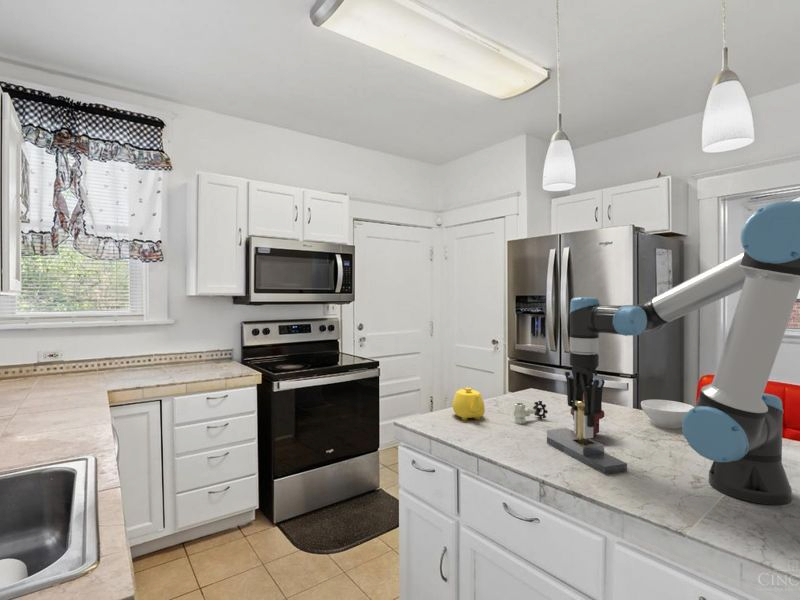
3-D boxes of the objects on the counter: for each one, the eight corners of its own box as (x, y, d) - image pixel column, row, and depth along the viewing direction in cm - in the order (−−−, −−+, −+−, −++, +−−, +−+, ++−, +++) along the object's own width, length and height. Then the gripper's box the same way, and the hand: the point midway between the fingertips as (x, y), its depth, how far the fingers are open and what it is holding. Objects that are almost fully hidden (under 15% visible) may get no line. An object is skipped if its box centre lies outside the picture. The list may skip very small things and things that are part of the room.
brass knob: (595, 453, 122) (596, 402, 122) (582, 455, 121) (582, 403, 121) (584, 447, 127) (584, 398, 126) (571, 449, 125) (571, 399, 125)
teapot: (493, 423, 154) (493, 393, 154) (463, 426, 152) (463, 395, 151) (473, 409, 172) (473, 382, 171) (446, 411, 169) (446, 384, 169)
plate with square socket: (627, 471, 113) (627, 455, 113) (604, 474, 111) (604, 458, 111) (566, 440, 136) (566, 427, 136) (546, 443, 134) (546, 430, 134)
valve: (521, 425, 152) (547, 421, 157) (521, 406, 152) (547, 402, 157) (509, 420, 158) (534, 416, 163) (509, 402, 158) (534, 398, 163)
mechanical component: (600, 431, 145) (608, 441, 135) (568, 429, 147) (573, 439, 137) (600, 394, 145) (608, 401, 135) (568, 393, 147) (573, 400, 137)
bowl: (697, 436, 140) (697, 414, 140) (640, 428, 148) (640, 407, 148) (693, 422, 154) (693, 402, 153) (641, 416, 162) (641, 397, 161)
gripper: (617, 356, 116) (616, 443, 117) (575, 348, 132) (575, 425, 133) (593, 357, 114) (592, 446, 115) (554, 349, 130) (553, 428, 130)
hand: (583, 435), depth 124 cm, fingers closed on brass knob, 3 cm apart
